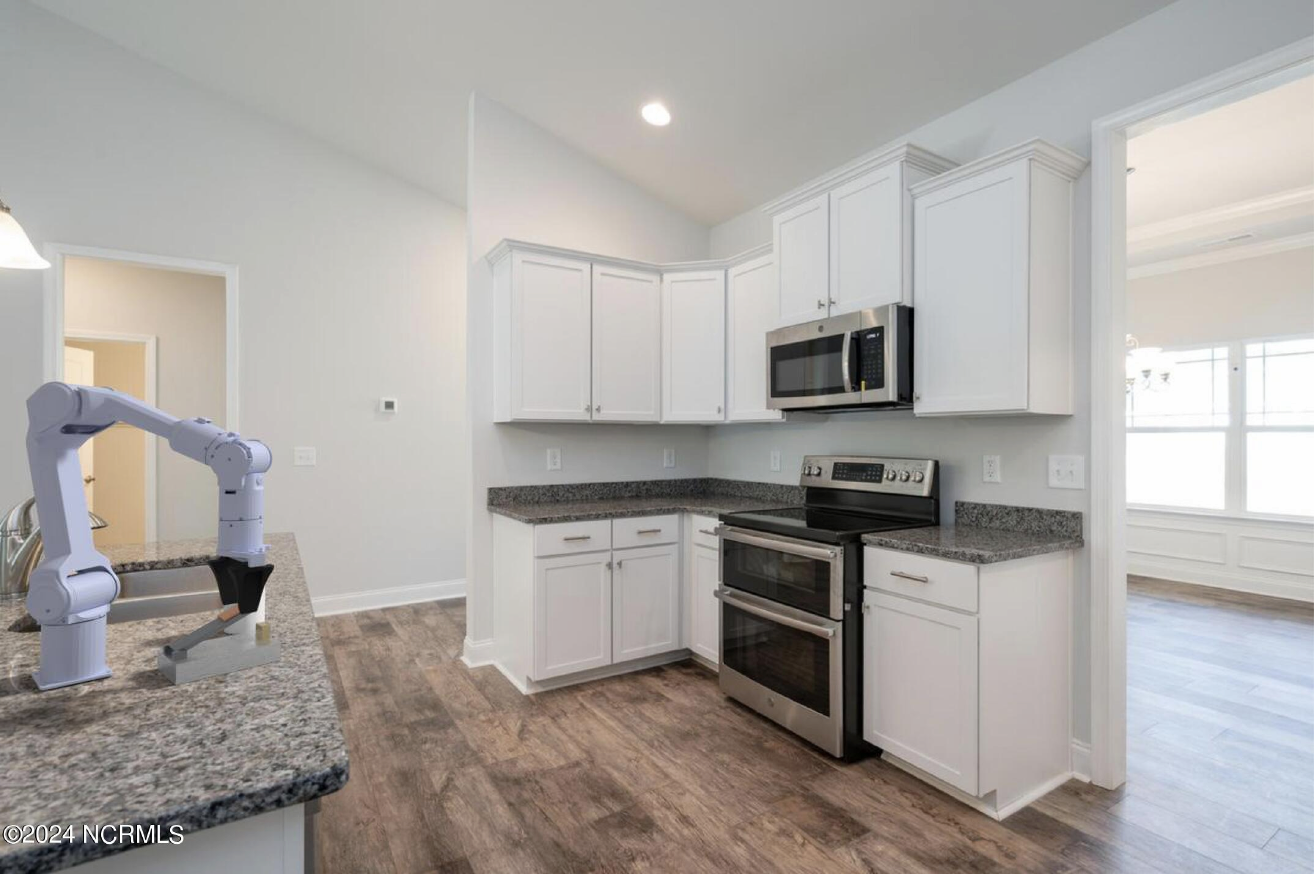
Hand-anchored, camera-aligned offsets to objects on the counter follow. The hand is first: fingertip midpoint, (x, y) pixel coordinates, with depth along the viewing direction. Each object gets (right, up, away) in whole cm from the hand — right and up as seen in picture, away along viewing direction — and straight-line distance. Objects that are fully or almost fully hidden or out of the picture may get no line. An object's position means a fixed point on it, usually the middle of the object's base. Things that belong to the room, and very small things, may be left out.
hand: (239, 608), depth 95 cm
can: (-15, -11, +23) cm, 29 cm away
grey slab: (-7, -5, +4) cm, 9 cm away
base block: (-6, -10, +5) cm, 13 cm away
